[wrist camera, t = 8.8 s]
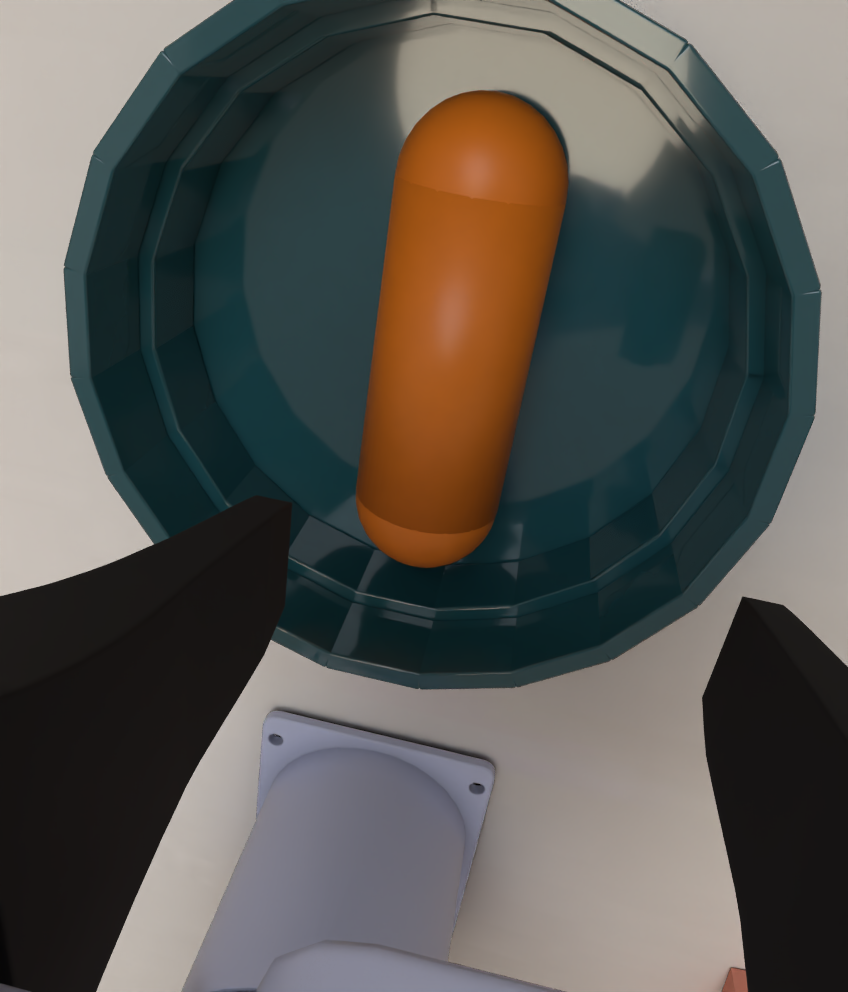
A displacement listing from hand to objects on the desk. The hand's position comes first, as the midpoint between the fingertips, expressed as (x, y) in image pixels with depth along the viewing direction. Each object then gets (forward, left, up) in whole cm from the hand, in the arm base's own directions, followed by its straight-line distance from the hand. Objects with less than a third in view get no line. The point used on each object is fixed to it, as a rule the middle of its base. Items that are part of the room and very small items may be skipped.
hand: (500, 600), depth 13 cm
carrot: (+2, +2, -9) cm, 9 cm away
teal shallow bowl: (+1, +2, -9) cm, 10 cm away
